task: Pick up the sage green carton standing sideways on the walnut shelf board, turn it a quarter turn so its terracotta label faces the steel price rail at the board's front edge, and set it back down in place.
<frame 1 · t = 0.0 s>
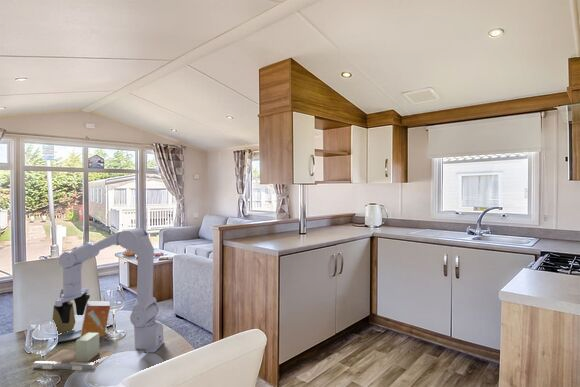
hand: (73, 318, 124), 10 cm above the table, tool pointing down, fingers open, 7 cm apart
carton: (79, 356, 113), point 1 cm above the table, touching shelf board
shelf board: (77, 361, 112), on the table
squeeze bottle: (63, 333, 135), on the table
small box: (92, 337, 130), point 1 cm above the table, touching gripper
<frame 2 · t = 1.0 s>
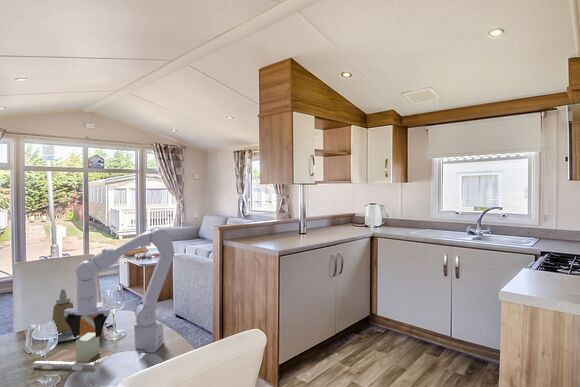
hand: (87, 336, 113), 8 cm above the table, tool pointing down, fingers open, 7 cm apart
small box: (91, 339, 130), on the table
everything else where it was.
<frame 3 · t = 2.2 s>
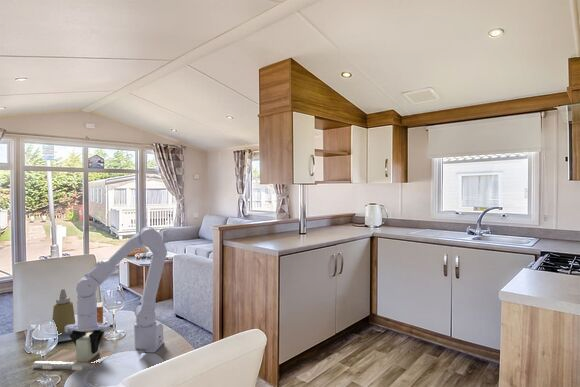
hand: (88, 352, 113), 3 cm above the table, tool pointing down, fingers closed on carton, 4 cm apart
carton: (79, 356, 113), point 1 cm above the table, touching gripper, shelf board
everything else where it was.
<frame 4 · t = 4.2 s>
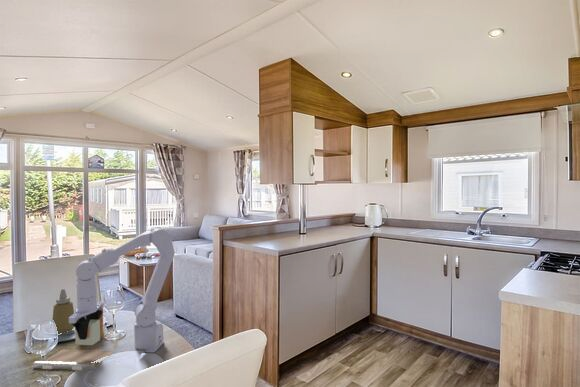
hand: (87, 335, 113), 8 cm above the table, tool pointing down, fingers closed on carton, 4 cm apart
carton: (81, 346, 110), point 6 cm above the table, touching gripper
everything else where it was.
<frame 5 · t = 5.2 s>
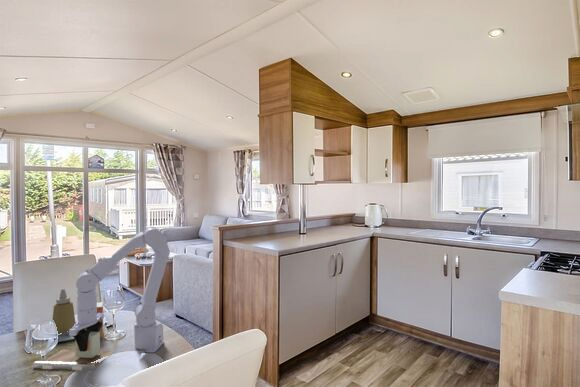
hand: (87, 347, 113), 4 cm above the table, tool pointing down, fingers closed on carton, 4 cm apart
carton: (81, 359, 110), point 2 cm above the table, touching gripper
everything else where it was.
when the fingers open (4 cm above the table, at t = 6.2 s): carton stays where it is, resting on shelf board.
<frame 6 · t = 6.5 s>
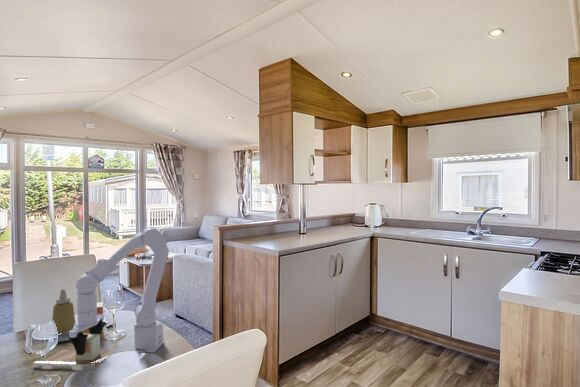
hand: (88, 349, 113), 4 cm above the table, tool pointing down, fingers open, 7 cm apart
carton: (82, 361, 110), point 1 cm above the table, touching shelf board
everything else where it was.
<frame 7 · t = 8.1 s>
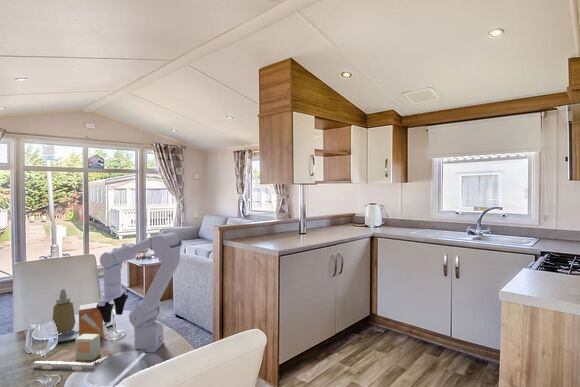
hand: (113, 318, 126), 9 cm above the table, tool pointing down, fingers open, 7 cm apart
nothing on the table moved.
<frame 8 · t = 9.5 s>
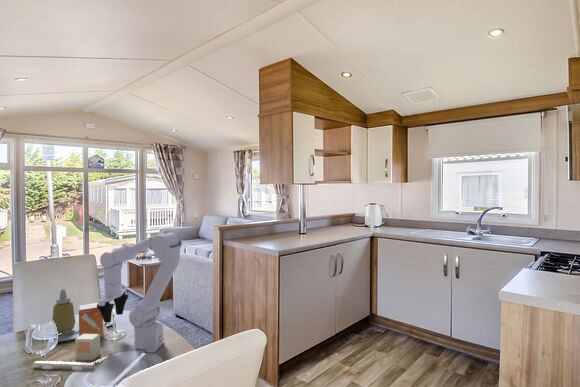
hand: (113, 318, 126), 9 cm above the table, tool pointing down, fingers open, 7 cm apart
nothing on the table moved.
at the end: carton 0.0 cm from the target spot, point 1.2 cm above the table; carton tilted 0°; the gripper is holding nothing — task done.
